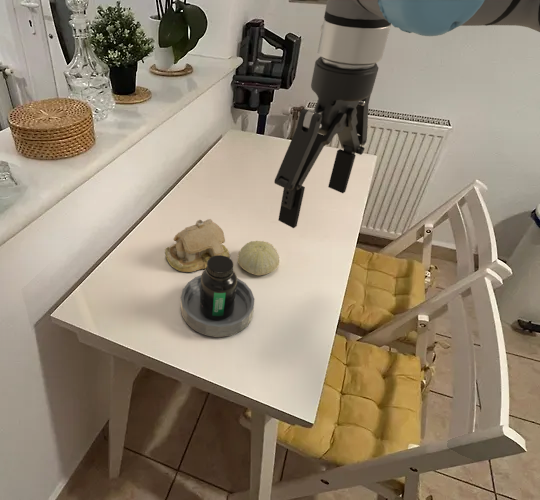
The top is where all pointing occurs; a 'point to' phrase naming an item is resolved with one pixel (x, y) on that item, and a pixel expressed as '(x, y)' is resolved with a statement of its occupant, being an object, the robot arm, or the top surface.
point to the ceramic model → (196, 246)
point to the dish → (217, 327)
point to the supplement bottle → (218, 288)
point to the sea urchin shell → (258, 258)
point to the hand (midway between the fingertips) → (313, 205)
